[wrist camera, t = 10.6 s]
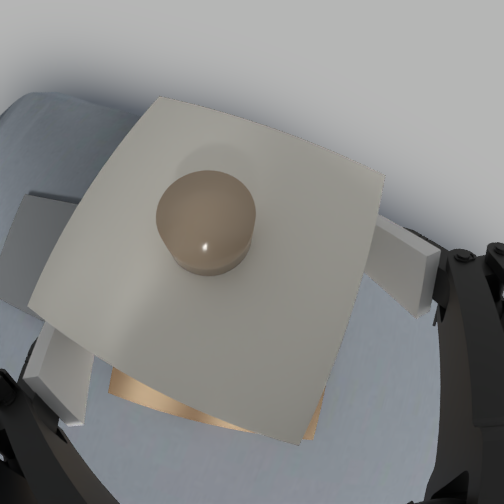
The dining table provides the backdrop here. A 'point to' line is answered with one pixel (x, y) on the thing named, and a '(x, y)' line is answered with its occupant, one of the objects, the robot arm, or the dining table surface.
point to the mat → (30, 247)
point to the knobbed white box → (216, 264)
